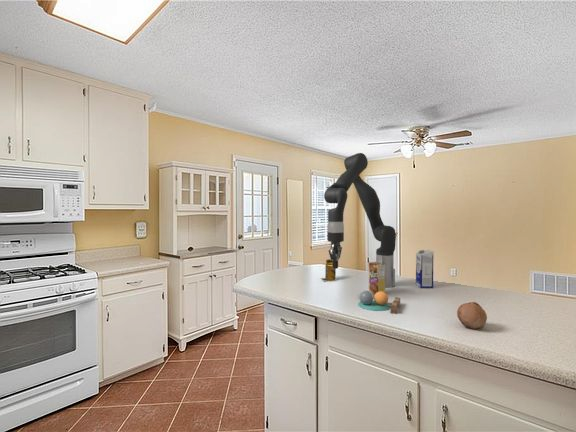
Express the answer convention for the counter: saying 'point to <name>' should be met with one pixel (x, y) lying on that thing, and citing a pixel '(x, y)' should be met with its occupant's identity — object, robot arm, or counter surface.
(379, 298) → the orange ball
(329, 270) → the condiment
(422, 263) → the milk carton
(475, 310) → the brown oval lump
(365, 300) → the gray ball
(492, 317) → the counter surface
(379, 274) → the candy box
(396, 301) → the stop bar
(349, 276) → the counter surface
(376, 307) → the teal mark
